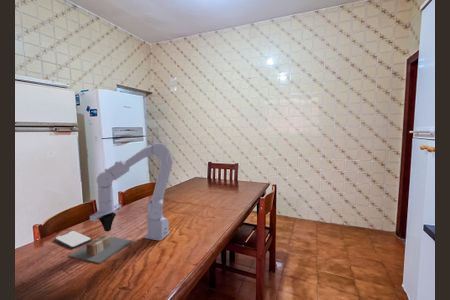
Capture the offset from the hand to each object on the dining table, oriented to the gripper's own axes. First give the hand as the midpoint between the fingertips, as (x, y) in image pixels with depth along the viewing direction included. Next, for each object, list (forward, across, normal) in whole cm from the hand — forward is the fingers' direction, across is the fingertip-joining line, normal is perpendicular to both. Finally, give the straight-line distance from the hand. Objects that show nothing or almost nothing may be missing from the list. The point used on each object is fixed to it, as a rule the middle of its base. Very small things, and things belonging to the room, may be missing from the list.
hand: (107, 230), depth 94 cm
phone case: (+7, +2, -18) cm, 20 cm away
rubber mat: (+6, +3, 0) cm, 7 cm away
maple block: (+4, +1, 0) cm, 4 cm away
